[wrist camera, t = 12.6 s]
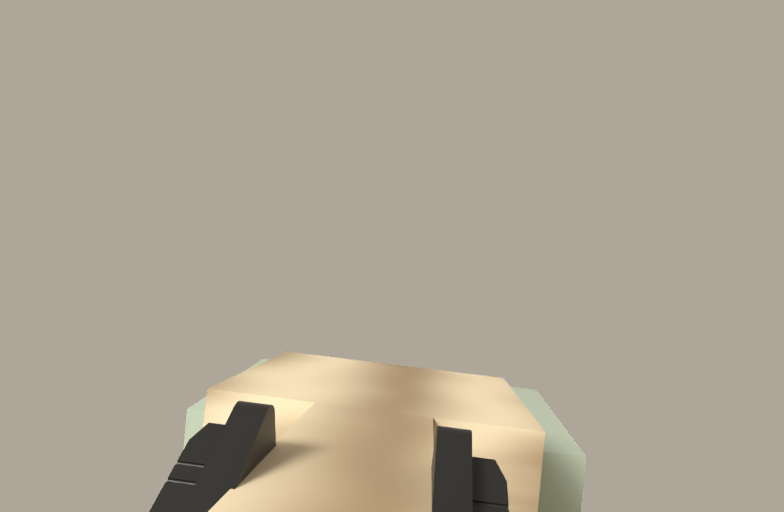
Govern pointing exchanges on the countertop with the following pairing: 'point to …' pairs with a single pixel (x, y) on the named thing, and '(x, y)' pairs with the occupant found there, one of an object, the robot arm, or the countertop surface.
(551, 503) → the mint green side table
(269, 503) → the cheese board
